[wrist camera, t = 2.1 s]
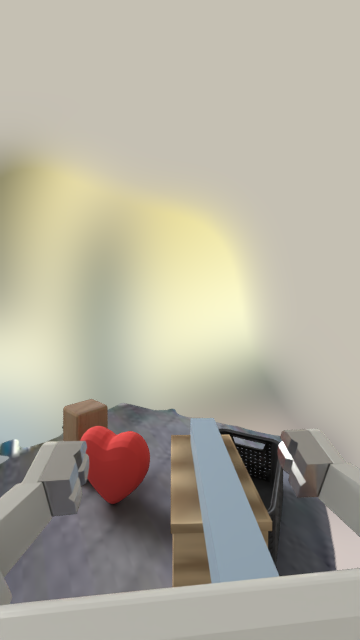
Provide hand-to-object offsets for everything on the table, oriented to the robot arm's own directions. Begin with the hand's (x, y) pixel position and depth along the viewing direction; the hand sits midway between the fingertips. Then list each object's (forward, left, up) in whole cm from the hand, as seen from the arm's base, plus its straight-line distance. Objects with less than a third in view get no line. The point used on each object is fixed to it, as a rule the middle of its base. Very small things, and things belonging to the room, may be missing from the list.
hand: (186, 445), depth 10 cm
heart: (+29, +45, -42) cm, 68 cm away
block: (+32, +63, -42) cm, 82 cm away
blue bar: (+17, +8, -16) cm, 24 cm away
